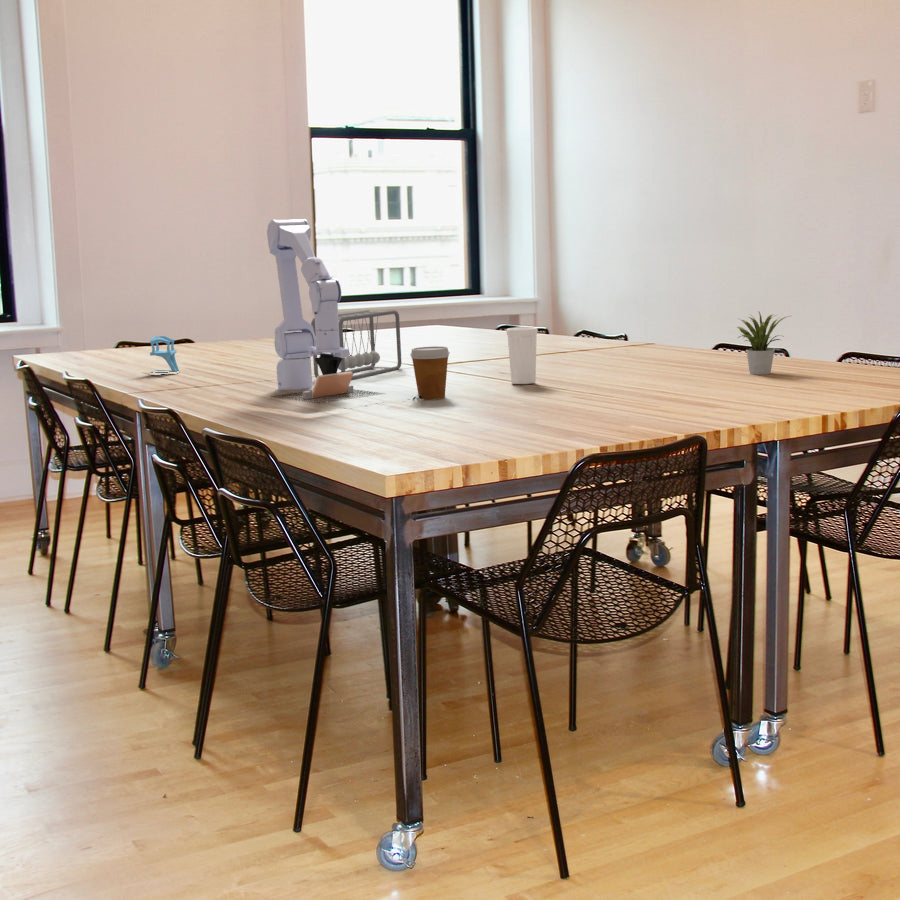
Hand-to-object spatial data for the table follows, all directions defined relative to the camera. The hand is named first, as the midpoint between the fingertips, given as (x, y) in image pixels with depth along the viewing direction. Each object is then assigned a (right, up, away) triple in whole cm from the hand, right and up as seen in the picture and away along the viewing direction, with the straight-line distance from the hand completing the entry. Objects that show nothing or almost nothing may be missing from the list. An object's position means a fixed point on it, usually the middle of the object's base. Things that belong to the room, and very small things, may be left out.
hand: (330, 385), depth 271 cm
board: (-1, -3, +2) cm, 4 cm away
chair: (-59, +8, +73) cm, 95 cm away
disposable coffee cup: (+25, -3, -4) cm, 25 cm away
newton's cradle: (+3, +6, +50) cm, 51 cm away
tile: (0, -2, +1) cm, 2 cm away
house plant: (+111, +4, +15) cm, 112 cm away
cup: (+48, +1, +15) cm, 50 cm away
